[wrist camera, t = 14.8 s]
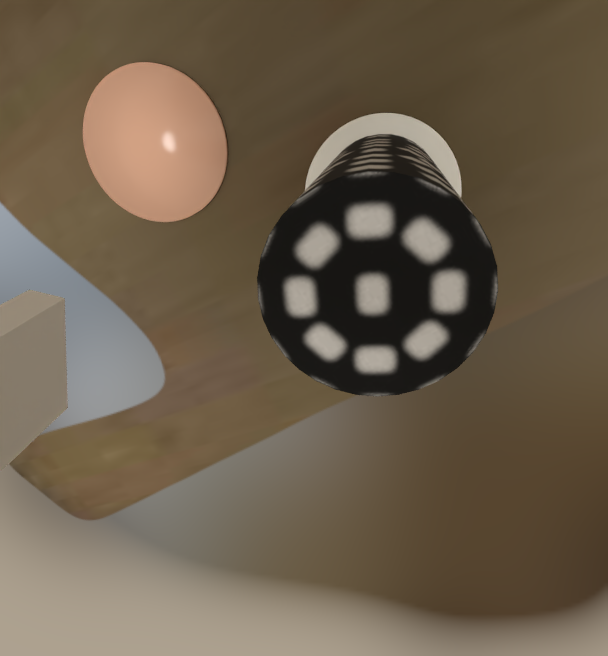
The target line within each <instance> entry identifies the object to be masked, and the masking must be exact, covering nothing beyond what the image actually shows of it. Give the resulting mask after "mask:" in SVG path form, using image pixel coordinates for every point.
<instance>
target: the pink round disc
mask: <svg viewBox="0 0 608 656" xmlns="http://www.w3.org/2000/svg"><path fill="white" fill-rule="evenodd" d="M83 141H84V147H85V152H86V156H87V159H88V162H89V165H90V167H91V170H92V172H93V174H94V176H95V177H96V179H97V181H98V182H99V184H100V185H101V187H102V188H103V190H104V191H105V192H106V193H107V194H108V195H109V197H111V198H112V199H113V200H114V201H115V202H116V203H117V204H118V205H120V206H121V207H122V208H124V209H125V210H127V211H128V212H130V213H132V214H134V215H136V216H138V217H141V218H144V219H147V220H151V221H157V222H172V221H178V220H182V219H185V218H187V217H190V216H192V215H194V214H195V213H197V212H199V211H200V210H202V209H203V208H204V207H205V206H206V205H208V204H209V202H210V201H211V200H212V199H213V198H214V197H215V195H216V193H217V192H218V190H219V188H220V186H221V184H222V182H223V179H224V176H225V173H226V168H227V161H228V145H227V137H226V132H225V128H224V125H223V122H222V119H221V117H220V115H219V112H218V110H217V108H216V107H215V105H214V103H213V102H212V100H211V99H210V97H209V96H208V95H207V93H206V92H205V91H204V90H203V89H202V88H201V87H200V86H199V85H198V84H197V83H196V82H195V81H194V80H192V79H191V78H190V77H189V76H187V75H185V74H184V73H182V72H181V71H179V70H176V69H174V68H172V67H169V66H166V65H162V64H158V63H150V62H138V63H133V64H128V65H125V66H122V67H120V68H118V69H116V70H114V71H112V72H111V73H110V74H108V75H107V76H106V77H105V78H104V79H103V80H102V81H101V82H100V83H99V84H98V85H97V87H96V88H95V90H94V91H93V93H92V95H91V97H90V99H89V101H88V104H87V107H86V110H85V115H84V121H83Z"/></svg>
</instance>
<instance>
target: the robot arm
mask: <svg viewBox="0 0 608 656" xmlns="http://www.w3.org/2000/svg"><path fill="white" fill-rule="evenodd" d="M65 333H66V332H65V299H64V298H62V297H58V296H53V295H49V294H45V293H41V292H37V291H33V290H28V291H26V292H24V293H22V294H20V295H18V296H17V297H15V298H13V299H11V300H9V301H7V302H5V303H3V304H1V305H0V471H2V470H3V469H4V468H5V467H6V466H7V465H8V464H9V463H10V462H11V461H12V460H13V459H14V458H15V457H16V456H17V455H18V454H19V453H21V452H22V451H23V450H24V449H25V448H26V447H27V446H28V445H29V444H30V443H31V442H32V441H33V440H34V439H35V438H36V437H37V436H38V435H39V434H41V433H42V431H44V430H45V429H46V428H47V427H48V426H49V425H50V424H51V423H52V422H53V421H54V420H55V419H56V418H57V417H58V416H59V415H61V414H62V413H63V412H64V411H65V410H66V409H67V408H68V403H67V369H66V368H67V367H66V336H65V335H66V334H65Z"/></svg>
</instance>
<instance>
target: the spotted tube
mask: <svg viewBox="0 0 608 656" xmlns="http://www.w3.org/2000/svg"><path fill="white" fill-rule="evenodd" d="M257 283H258V300H259V304H260V308H261V313H262V317H263V320H264V322H265V324H266V326H267V329H268V331H269V333H270V335H271V337H272V339H273V340H274V342H275V343H276V344H277V346H278V347H279V349H280V350H281V351H282V353H283V354H284V355H285V356H286V357H287V358H288V359H289V360H290V361H291V362H292V363H293V364H294V365H295V366H296V367H297V368H298V369H299V370H301V371H302V372H304V373H305V374H307V375H308V376H310V377H311V378H313V379H314V380H316V381H318V382H320V383H322V384H324V385H327V386H329V387H331V388H333V389H336V390H340V391H344V392H348V393H352V394H356V395H367V396H388V395H399V394H402V393H407V392H411V391H414V390H418V389H421V388H423V387H426V386H428V385H430V384H432V383H434V382H436V381H439V380H440V379H442V378H443V377H445V376H446V375H448V374H449V373H451V372H452V371H454V370H455V369H457V368H458V367H459V366H460V365H461V364H462V363H463V362H464V361H465V360H466V359H467V358H468V357H469V356H470V355H471V354H472V353H473V352H474V350H475V349H476V347H477V346H478V344H479V343H480V341H481V340H482V338H483V337H484V335H485V334H486V331H487V329H488V326H489V324H490V322H491V319H492V317H493V314H494V310H495V305H496V299H497V293H498V278H497V265H496V262H495V258H494V254H493V251H492V247H491V244H490V242H489V240H488V238H487V236H486V234H485V232H484V231H483V229H482V227H481V225H480V223H479V222H478V220H477V219H476V218H475V216H474V215H473V214H472V212H471V211H470V210H469V208H468V207H467V206H466V204H465V203H464V202H463V200H462V199H461V198H460V196H459V195H458V194H457V192H456V191H455V190H454V188H453V187H452V185H451V184H450V183H449V181H448V180H447V179H446V177H445V176H444V175H443V173H442V172H441V171H440V169H439V168H438V167H437V165H436V164H435V163H434V161H433V160H432V159H431V157H430V156H429V155H428V154H427V153H426V152H425V150H424V149H423V148H421V147H420V146H419V145H417V144H416V143H415V142H413V141H411V140H409V139H407V138H404V137H402V136H397V135H393V134H376V135H371V136H366V137H364V138H361V139H359V140H357V141H355V142H353V143H352V144H350V145H349V146H347V147H346V148H345V149H344V150H343V151H342V152H341V153H340V154H339V155H338V156H337V157H336V158H335V159H334V160H333V161H332V162H331V163H330V164H329V165H328V166H327V167H326V169H325V170H324V171H323V172H322V173H321V174H320V175H319V176H318V177H317V178H316V179H315V180H314V181H313V183H312V184H311V185H310V186H309V187H308V188H307V189H306V190H305V191H304V192H303V193H302V194H301V195H300V197H299V198H298V199H297V200H296V201H295V202H294V203H293V204H292V205H291V206H290V207H289V208H288V210H287V211H286V212H285V213H284V214H283V215H282V216H281V218H280V219H279V221H278V222H277V224H276V225H275V227H274V228H273V230H272V231H271V233H270V234H269V236H268V239H267V242H266V244H265V247H264V249H263V252H262V254H261V258H260V264H259V270H258V276H257Z"/></svg>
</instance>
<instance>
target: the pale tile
mask: <svg viewBox="0 0 608 656" xmlns="http://www.w3.org/2000/svg"><path fill="white" fill-rule="evenodd" d="M376 134H393V135H397V136H402V137H404V138H407V139H409V140H411V141H413V142H415V143H416V144H417V145H419V146H420V147H421V148H423V149H424V150H425V152H426V153H427V154H428V155H429V156H430V157H431V159H432V160H433V161H434V163H435V164H436V165H437V167H438V168H439V169H440V171H441V172H442V173H443V175H444V176H445V177H446V179H447V180H448V181H449V183H450V184H451V185H452V187H453V188H454V190H455V191H456V192H457V194H458V195H459V196H460V198H461V194H462V189H461V177H460V171H459V168H458V164H457V161H456V159H455V157H454V154H453V152H452V151H451V149H450V147H449V146H448V144H447V143H446V142H445V140H444V139H443V138H442V137H441V136H440V135H439V134H438V133H437V132H436V131H435V130H433V129H432V128H431V127H430V126H428V125H426V124H425V123H423V122H422V121H419V120H417V119H415V118H413V117H409V116H406V115H402V114H396V113H377V114H370V115H366V116H363V117H359V118H357V119H355V120H353V121H350V122H348V123H347V124H345V125H344V126H342V127H340V128H339V129H338V130H336V131H335V132H334V133H333V134H332V135H331V136H330V137H329V138H328V139H327V140H326V141H325V142H324V143H323V144H322V146H321V147H320V149H319V150H318V151H317V153H316V155H315V157H314V159H313V161H312V163H311V166H310V168H309V171H308V175H307V179H306V186H305V190H306V189H307V188H308V187H309V186H310V185H311V184H312V183H313V181H314V180H315V179H316V178H317V177H318V176H319V175H320V174H321V173H322V172H323V171H324V170H325V169H326V167H327V166H328V165H329V164H330V163H331V162H332V161H333V160H334V159H335V158H336V157H337V156H338V155H339V154H340V153H341V152H342V151H343V150H344V149H345V148H346V147H347V146H349V145H350V144H352V143H353V142H355V141H357V140H359V139H361V138H364V137H366V136H371V135H376Z"/></svg>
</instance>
